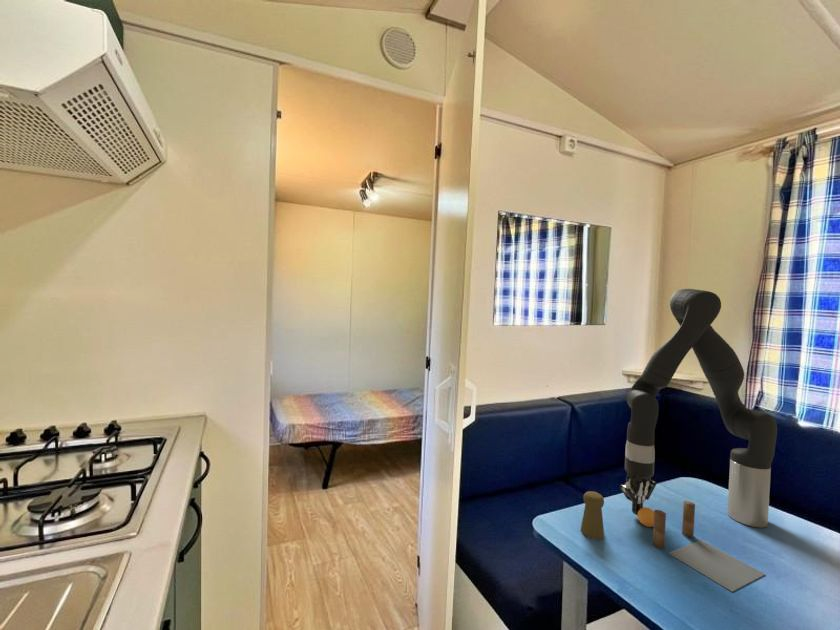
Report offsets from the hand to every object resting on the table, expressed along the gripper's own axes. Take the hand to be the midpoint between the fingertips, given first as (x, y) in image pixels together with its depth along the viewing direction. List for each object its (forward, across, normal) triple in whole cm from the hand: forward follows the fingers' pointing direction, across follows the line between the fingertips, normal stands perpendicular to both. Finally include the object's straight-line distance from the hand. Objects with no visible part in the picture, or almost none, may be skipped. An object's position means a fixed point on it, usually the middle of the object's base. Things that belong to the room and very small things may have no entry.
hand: (637, 513), depth 112 cm
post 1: (+1, +6, +11) cm, 13 cm away
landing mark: (+1, 0, +21) cm, 21 cm away
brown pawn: (+2, +19, +1) cm, 19 cm away
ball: (-1, 0, +4) cm, 4 cm away
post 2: (+1, -6, +11) cm, 12 cm away
